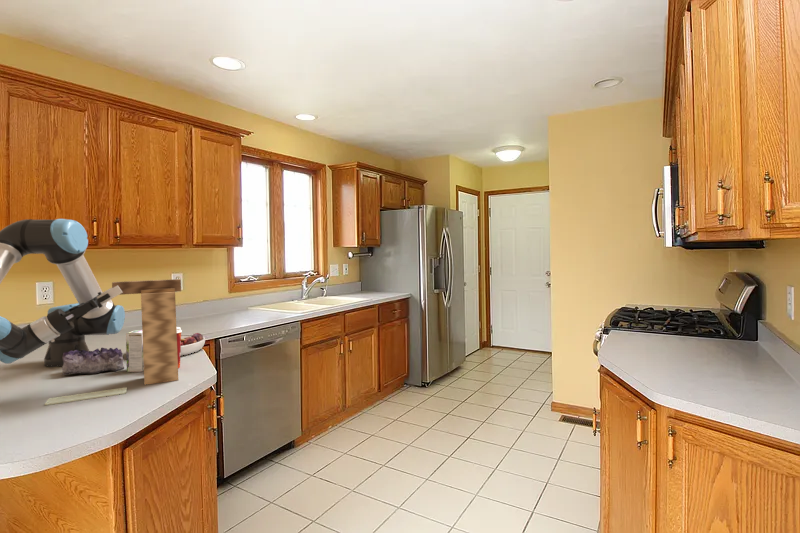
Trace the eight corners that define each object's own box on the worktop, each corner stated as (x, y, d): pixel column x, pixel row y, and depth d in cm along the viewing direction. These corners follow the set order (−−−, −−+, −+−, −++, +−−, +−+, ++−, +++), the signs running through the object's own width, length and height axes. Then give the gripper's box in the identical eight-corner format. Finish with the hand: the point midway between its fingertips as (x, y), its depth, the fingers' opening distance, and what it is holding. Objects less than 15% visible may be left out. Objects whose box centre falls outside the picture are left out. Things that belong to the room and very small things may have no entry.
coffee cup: (188, 366, 169) (186, 327, 169) (170, 372, 162) (169, 331, 161) (171, 364, 172) (169, 326, 172) (153, 370, 164) (151, 330, 164)
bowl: (118, 364, 175) (117, 344, 174) (137, 348, 203) (136, 331, 203) (201, 357, 184) (200, 338, 184) (208, 343, 213) (207, 326, 212)
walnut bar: (112, 295, 144) (112, 282, 144) (113, 294, 148) (112, 282, 147) (181, 291, 154) (180, 279, 154) (180, 290, 157) (180, 279, 157)
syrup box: (134, 368, 168) (132, 330, 167) (150, 367, 168) (149, 329, 168) (126, 372, 162) (124, 332, 162) (143, 371, 163) (141, 332, 162)
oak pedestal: (144, 384, 147) (140, 290, 145) (144, 377, 155) (141, 288, 154) (178, 380, 152) (175, 288, 150) (176, 373, 160) (173, 286, 159)
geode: (128, 364, 174) (128, 340, 172) (120, 376, 163) (119, 350, 161) (67, 368, 167) (65, 342, 166) (54, 380, 156) (52, 353, 155)
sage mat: (44, 405, 128) (44, 404, 128) (48, 399, 133) (48, 398, 133) (126, 393, 138) (125, 392, 138) (126, 388, 143) (126, 387, 143)
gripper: (68, 328, 150) (130, 293, 159) (53, 341, 128) (126, 300, 137) (53, 310, 148) (117, 275, 156) (36, 320, 126) (111, 280, 135)
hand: (121, 287), depth 147 cm, fingers open, 13 cm apart
